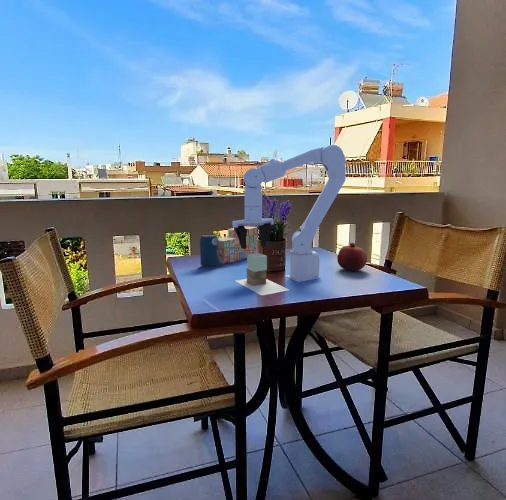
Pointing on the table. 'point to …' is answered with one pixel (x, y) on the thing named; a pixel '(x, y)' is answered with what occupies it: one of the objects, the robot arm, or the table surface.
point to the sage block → (257, 262)
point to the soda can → (209, 251)
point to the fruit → (352, 257)
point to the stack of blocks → (236, 245)
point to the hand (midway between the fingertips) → (253, 247)
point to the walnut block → (256, 277)
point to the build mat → (263, 287)
